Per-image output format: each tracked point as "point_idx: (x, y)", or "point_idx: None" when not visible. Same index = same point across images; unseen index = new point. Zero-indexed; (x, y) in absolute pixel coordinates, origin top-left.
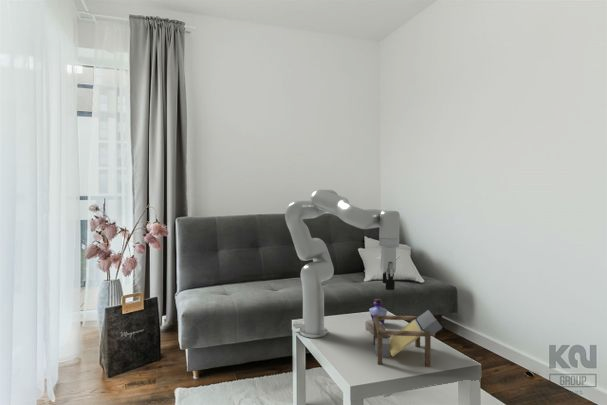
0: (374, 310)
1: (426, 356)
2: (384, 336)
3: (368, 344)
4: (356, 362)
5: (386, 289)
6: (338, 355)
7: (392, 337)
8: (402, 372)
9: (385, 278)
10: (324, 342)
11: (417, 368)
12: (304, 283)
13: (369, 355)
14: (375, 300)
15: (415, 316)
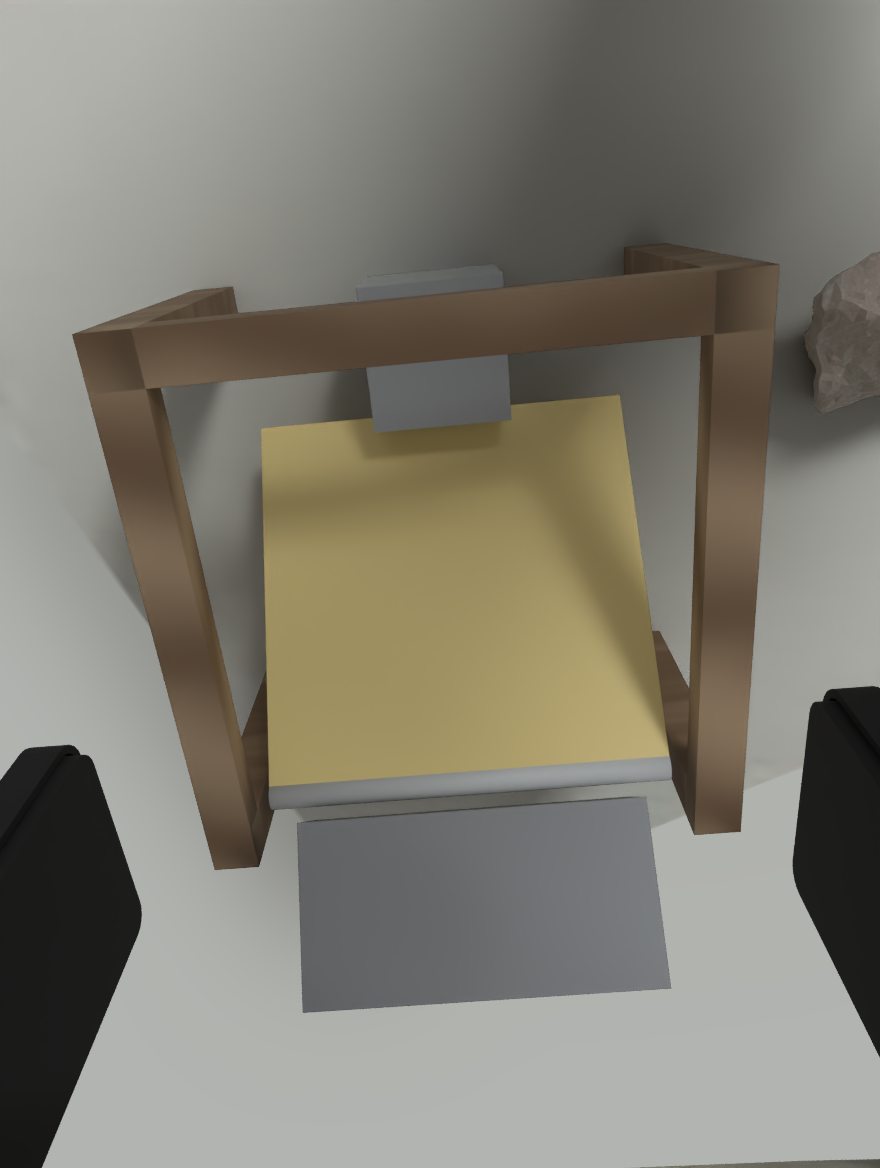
0: None
1: (255, 707)
2: (816, 369)
3: (642, 186)
4: (170, 61)
5: (40, 758)
6: None
7: (591, 464)
8: (112, 491)
9: (877, 864)
10: None
11: (217, 603)
12: None
13: (366, 203)
14: None
15: (732, 795)
